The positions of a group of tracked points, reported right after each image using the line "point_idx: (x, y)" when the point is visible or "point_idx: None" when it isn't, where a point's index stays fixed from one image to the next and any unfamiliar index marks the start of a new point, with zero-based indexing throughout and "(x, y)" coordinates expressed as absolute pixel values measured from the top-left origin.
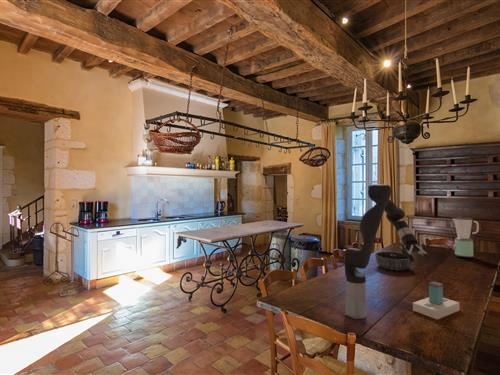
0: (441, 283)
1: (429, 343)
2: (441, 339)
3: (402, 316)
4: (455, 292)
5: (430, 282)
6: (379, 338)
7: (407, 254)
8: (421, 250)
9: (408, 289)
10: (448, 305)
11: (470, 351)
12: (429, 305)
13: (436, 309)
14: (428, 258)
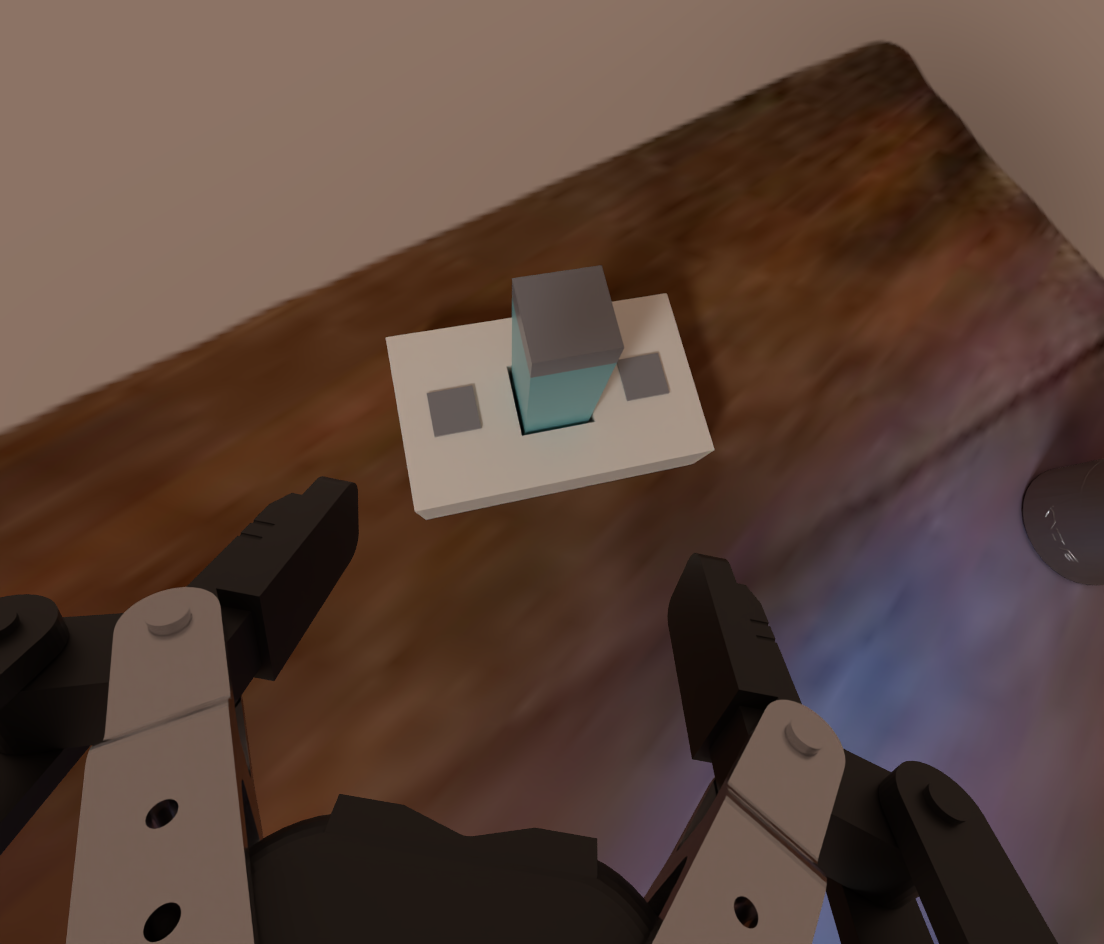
0: (515, 289)
1: (873, 179)
2: (798, 182)
3: (815, 418)
4: None
5: (598, 350)
6: (1061, 279)
7: (848, 755)
8: (236, 727)
9: None
10: (511, 329)
11: (759, 89)
12: (645, 367)
13: (648, 312)
14: (288, 506)
